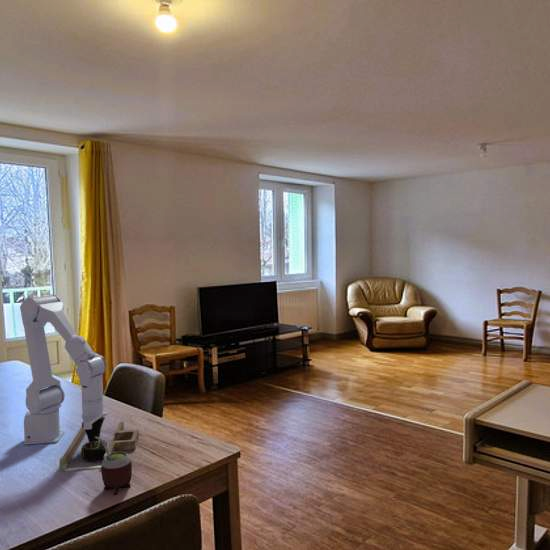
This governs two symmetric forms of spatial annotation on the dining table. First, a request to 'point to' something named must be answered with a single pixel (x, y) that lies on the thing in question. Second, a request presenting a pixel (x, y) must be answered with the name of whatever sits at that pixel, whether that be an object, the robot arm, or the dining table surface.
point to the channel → (122, 442)
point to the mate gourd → (116, 470)
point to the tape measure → (93, 450)
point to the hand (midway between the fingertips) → (94, 444)
